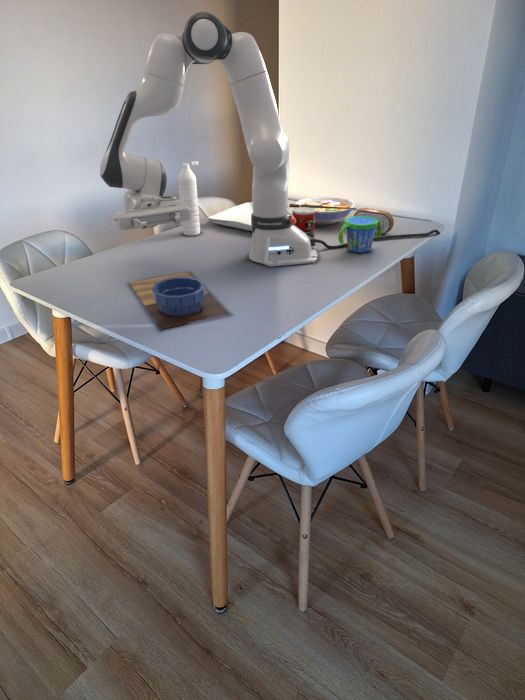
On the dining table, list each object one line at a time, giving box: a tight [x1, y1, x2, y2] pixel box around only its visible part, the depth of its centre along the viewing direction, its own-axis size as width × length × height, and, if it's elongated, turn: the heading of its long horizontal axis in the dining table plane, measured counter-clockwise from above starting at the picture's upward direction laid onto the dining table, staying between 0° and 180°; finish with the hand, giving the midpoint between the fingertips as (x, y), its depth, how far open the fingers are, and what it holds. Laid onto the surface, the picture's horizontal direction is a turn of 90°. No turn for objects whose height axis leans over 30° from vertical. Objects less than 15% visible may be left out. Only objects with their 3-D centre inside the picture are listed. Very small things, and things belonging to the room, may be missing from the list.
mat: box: [144, 292, 230, 331], centre depth 133 cm, size 15×18×1 cm
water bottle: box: [177, 160, 201, 237], centre depth 186 cm, size 9×6×25 cm
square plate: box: [206, 201, 294, 232], centre depth 201 cm, size 27×27×4 cm
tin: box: [353, 207, 395, 236], centre depth 187 cm, size 15×3×8 cm, turn 58°
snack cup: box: [338, 215, 382, 254], centre depth 170 cm, size 16×10×10 cm
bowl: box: [152, 276, 207, 316], centre depth 132 cm, size 13×13×6 cm
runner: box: [128, 271, 209, 306], centre depth 146 cm, size 18×18×1 cm
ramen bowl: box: [288, 196, 357, 226], centre depth 199 cm, size 25×23×8 cm
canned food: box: [292, 207, 316, 238], centre depth 179 cm, size 8×8×11 cm
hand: (161, 223), depth 136 cm, fingers open, 8 cm apart
